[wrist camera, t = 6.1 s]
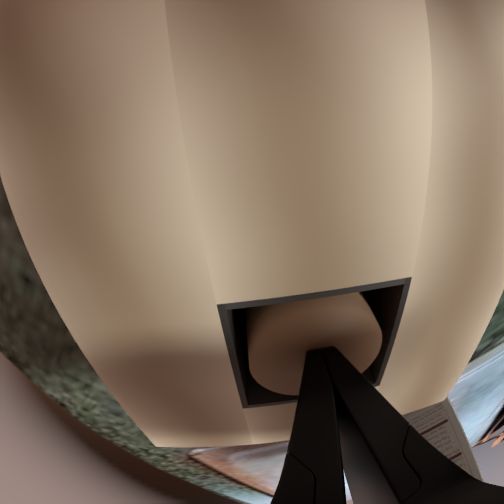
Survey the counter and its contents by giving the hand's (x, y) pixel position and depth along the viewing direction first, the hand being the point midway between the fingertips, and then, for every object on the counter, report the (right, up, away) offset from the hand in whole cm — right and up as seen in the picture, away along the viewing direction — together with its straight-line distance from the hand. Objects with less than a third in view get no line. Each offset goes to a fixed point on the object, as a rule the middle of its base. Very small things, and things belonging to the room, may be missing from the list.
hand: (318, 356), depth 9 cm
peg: (0, +2, +4) cm, 5 cm away
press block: (-1, +8, +1) cm, 8 cm away
